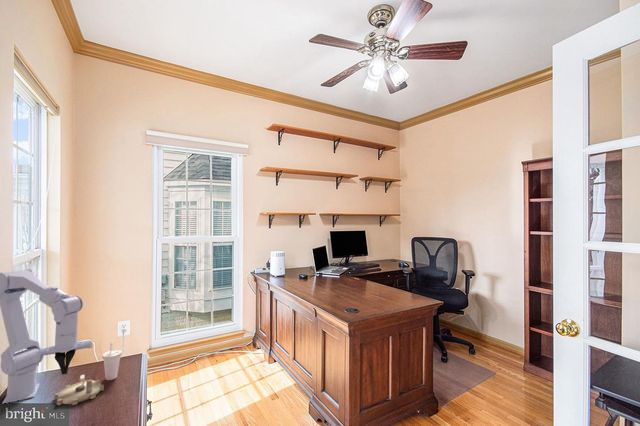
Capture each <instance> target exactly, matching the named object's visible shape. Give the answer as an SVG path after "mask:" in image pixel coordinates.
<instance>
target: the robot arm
mask: <svg viewBox="0 0 640 426" xmlns="http://www.w3.org/2000/svg"><path fill="white" fill-rule="evenodd" d="M27 291H30V292H32V293H34V294H36V295H38V300H39V301H40V302H42V304H44V305H46V306H47V307H49V308H50V309H51V313H52V315H53V320H54V322H55V335H54V336H55V337H54V345H51V346H49V347H44V348H42V347H41V346H40V343H39V341H38V340H34V339H31V338H30V335H29V330H28V326H27V323H26V318H25V313H24V310H23V306H22V301H21V299H20V298H21V297H22V295H23V294H24V293H27ZM83 303H84V302H83V299H82V298H81V297H80V296H79V295H77V294H76V295H69V294H68V293H67V292H64V291H63V290H61V289H60V288H59V286H48V285H47V284H46V283H44V282H43V281H42V280H41V279H40V278H38V273H37V272H36V271H34V270H33V269H31V268H28V269H22V270H21V269H20V270H15V271H13V270H12V271H8V272H7V271H6V272H0V312H1V315H2V319H3V325H4V329H5V333H6V336H7V340H8V345H9V346H7V347H6V349H5V350H4V351H3V352H2V353H1V354H0V359H1V360H0V369H1V372H2V373H4V374H5V375H7V390H6V391H7V393H6V396H5V398H4V400H3V401H2V405H5V404H4V403H6V404H9V402H10V403H15V402H18V400H19V401H23V400H27V399H30V398H31V399H32V398H34V397H35V396H36V394H37V392H38V389H39V387H40V383H37V374H38V373H37V371H38V369H37V368H38V367H39V365H40V363H41V362H42V361H43V359H44V356H49V355H54V359H55V361H56V363H57V364H58V366H59V368H60V371H61V376H63V375H67V374H68V372H69V367H70V365H71V362H72V360H73V359H74V356H75V354H76V351H78V350H84V349H93V340H86V341H78V340H77V337H78V317H79V316H78V315H79V312H80V311H81V310H82V309H83V305H84V304H83Z"/></svg>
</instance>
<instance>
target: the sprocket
mask: <svg viewBox="0 0 640 426" xmlns="http://www.w3.org/2000/svg"><path fill="white" fill-rule="evenodd" d="M104 389H105V385H104V384H102V380H101V379H96V380H93V379H84V380H83V381H82V382H80V381H79V382H76V383H73V384H67V385H65V386H64V388H63V389H62V390H60V391H59V392H55V394H54V400H56V405H58V406H61V405H72V406H75V405H77V404H78V403H81V402H84V401H85V402H86V401H88V400H89V399H91V400H93V399H94V398H96V395H97V394H99V393H100V392H101V391H104Z"/></svg>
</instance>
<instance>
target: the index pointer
mask: <svg viewBox="0 0 640 426" xmlns="http://www.w3.org/2000/svg"><path fill="white" fill-rule="evenodd" d="M85 376H86V375H85V374H82V375H80V376H79V377H80V378H79V382H82V381H83V380H86V379H85V378H86V377H85Z"/></svg>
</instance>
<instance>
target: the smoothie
mask: <svg viewBox="0 0 640 426" xmlns="http://www.w3.org/2000/svg"><path fill="white" fill-rule="evenodd" d="M122 354H123V351H122V350H120V349H113V342H110V343H109V350H108V351H106V352H104V353H103V354H102V359H103V367H104V375H105V381H112V380H115V379H116V378H117V377H118V373H119V367H120V361H121V356H122Z"/></svg>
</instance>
